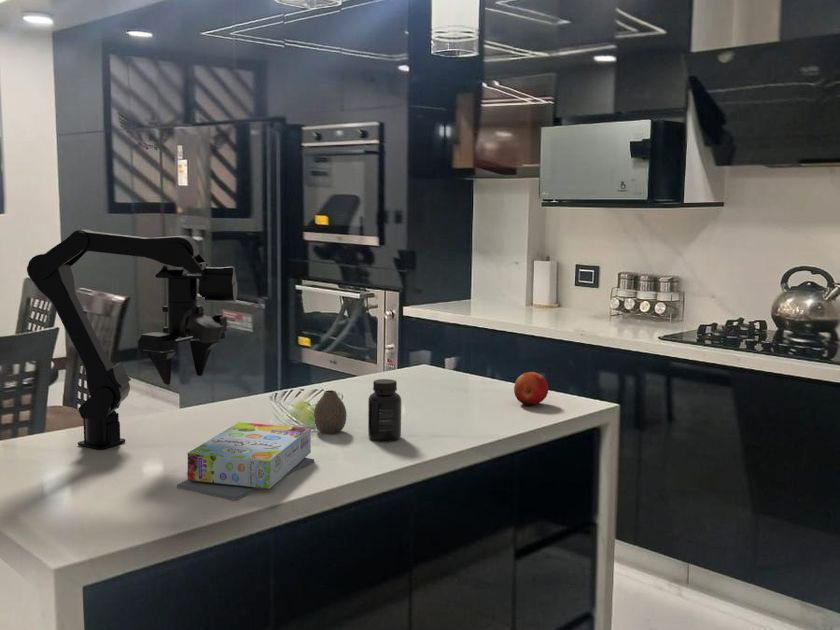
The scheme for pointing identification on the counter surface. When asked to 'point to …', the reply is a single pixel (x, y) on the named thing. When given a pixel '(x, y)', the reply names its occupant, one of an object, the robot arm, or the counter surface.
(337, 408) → the vase
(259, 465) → the snack box
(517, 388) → the apple
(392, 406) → the supplement bottle
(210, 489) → the mat
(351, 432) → the counter surface
